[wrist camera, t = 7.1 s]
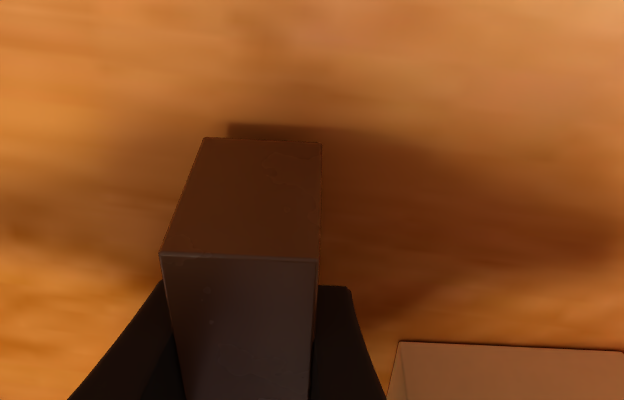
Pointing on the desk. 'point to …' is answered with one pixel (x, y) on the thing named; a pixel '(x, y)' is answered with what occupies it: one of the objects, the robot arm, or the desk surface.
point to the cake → (504, 373)
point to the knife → (246, 270)
